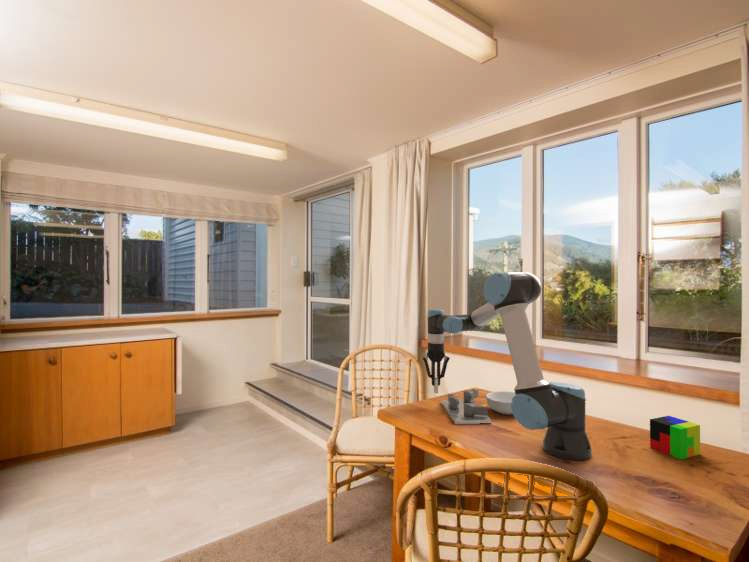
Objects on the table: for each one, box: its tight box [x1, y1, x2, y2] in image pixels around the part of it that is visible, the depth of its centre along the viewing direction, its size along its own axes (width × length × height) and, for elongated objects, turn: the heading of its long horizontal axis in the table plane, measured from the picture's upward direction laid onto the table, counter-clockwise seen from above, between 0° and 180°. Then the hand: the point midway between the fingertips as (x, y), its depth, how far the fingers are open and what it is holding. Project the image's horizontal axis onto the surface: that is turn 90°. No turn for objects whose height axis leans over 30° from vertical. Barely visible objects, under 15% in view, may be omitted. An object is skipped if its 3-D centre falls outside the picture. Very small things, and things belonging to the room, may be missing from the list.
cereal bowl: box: [486, 390, 516, 416], centre depth 176 cm, size 17×17×7 cm
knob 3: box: [464, 403, 489, 417], centre depth 167 cm, size 10×4×4 cm, turn 77°
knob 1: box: [447, 392, 460, 409], centre depth 180 cm, size 10×4×4 cm, turn 2°
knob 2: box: [463, 388, 479, 402], centre depth 189 cm, size 10×4×4 cm, turn 137°
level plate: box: [440, 399, 492, 425], centre depth 176 cm, size 28×15×2 cm, turn 2°
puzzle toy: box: [649, 415, 701, 460], centre depth 135 cm, size 10×10×10 cm
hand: (435, 392), depth 183 cm, fingers closed
